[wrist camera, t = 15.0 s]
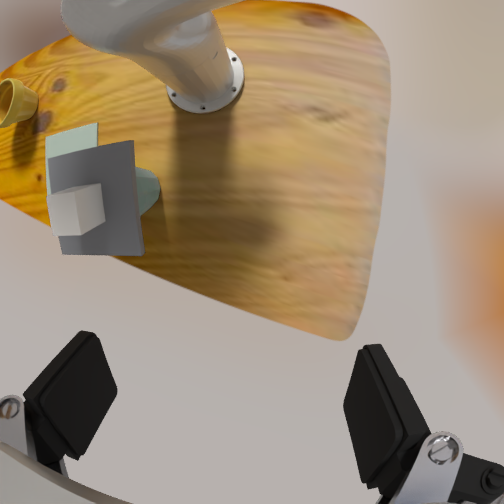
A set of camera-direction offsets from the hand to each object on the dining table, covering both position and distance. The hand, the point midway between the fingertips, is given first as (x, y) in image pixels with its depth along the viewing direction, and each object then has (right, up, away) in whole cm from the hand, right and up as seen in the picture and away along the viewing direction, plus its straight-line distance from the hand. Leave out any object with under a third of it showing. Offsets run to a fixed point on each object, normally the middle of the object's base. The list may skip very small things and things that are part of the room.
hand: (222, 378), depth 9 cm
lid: (-18, +10, +20) cm, 29 cm away
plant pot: (-47, +36, +29) cm, 66 cm away
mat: (-33, +21, +33) cm, 51 cm away
